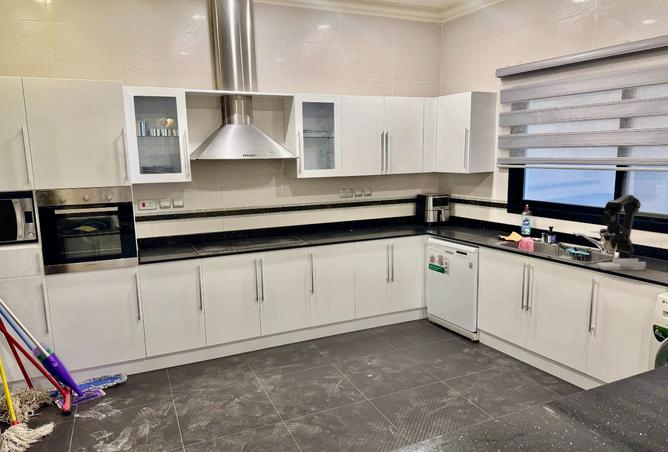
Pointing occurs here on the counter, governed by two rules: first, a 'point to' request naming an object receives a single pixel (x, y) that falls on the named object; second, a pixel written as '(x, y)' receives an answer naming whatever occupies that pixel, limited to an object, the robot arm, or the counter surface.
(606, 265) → the trap channel
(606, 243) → the wooden block
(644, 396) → the counter surface
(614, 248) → the robot arm
